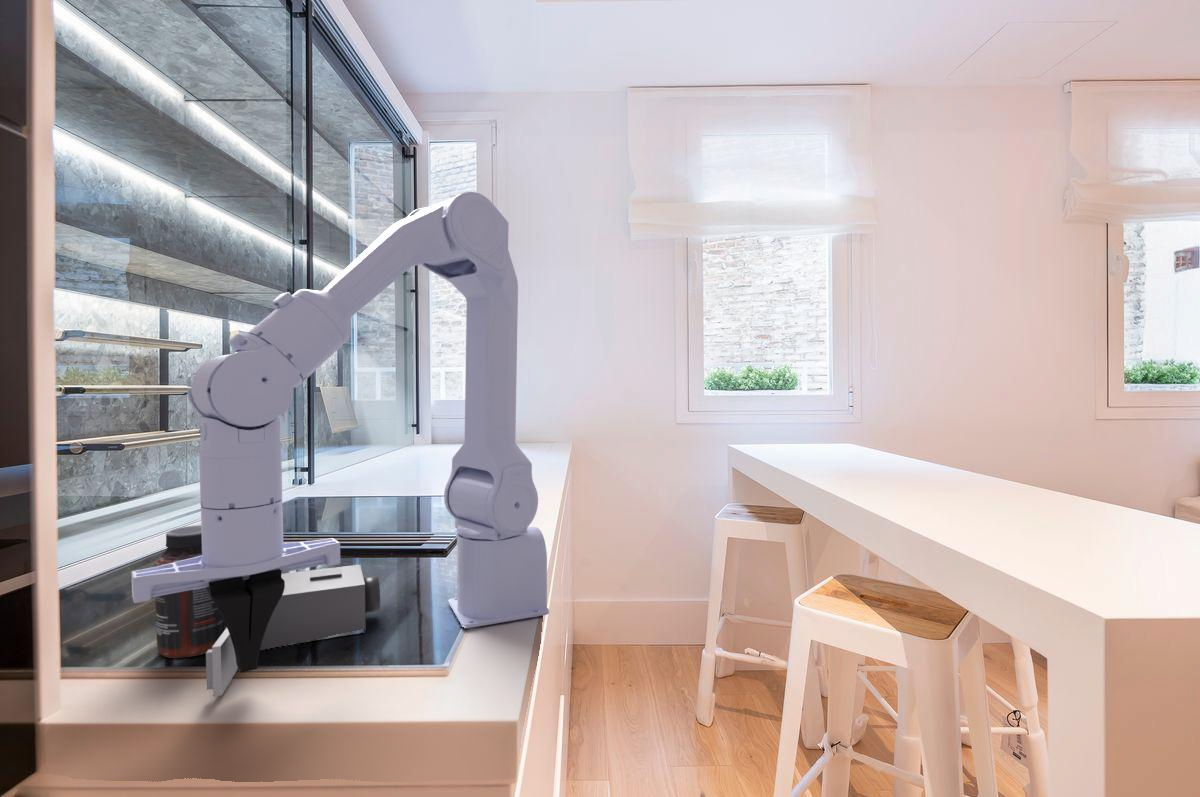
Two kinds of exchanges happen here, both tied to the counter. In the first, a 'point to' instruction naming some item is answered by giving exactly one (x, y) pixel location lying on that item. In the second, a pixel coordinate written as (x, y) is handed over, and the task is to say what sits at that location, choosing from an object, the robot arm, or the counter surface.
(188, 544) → the supplement bottle
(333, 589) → the block
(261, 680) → the counter surface
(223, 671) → the side door
